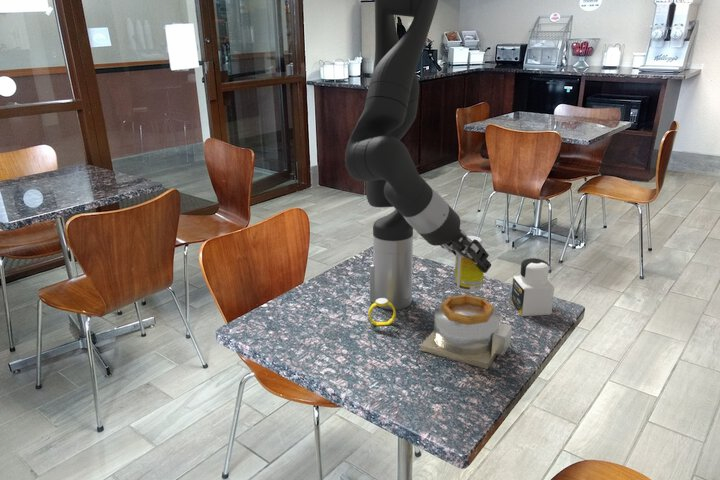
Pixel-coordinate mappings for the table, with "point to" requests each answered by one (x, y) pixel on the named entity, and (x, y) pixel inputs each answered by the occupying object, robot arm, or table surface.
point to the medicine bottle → (533, 289)
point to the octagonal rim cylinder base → (468, 331)
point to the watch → (382, 303)
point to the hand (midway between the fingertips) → (476, 263)
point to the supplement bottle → (468, 272)
